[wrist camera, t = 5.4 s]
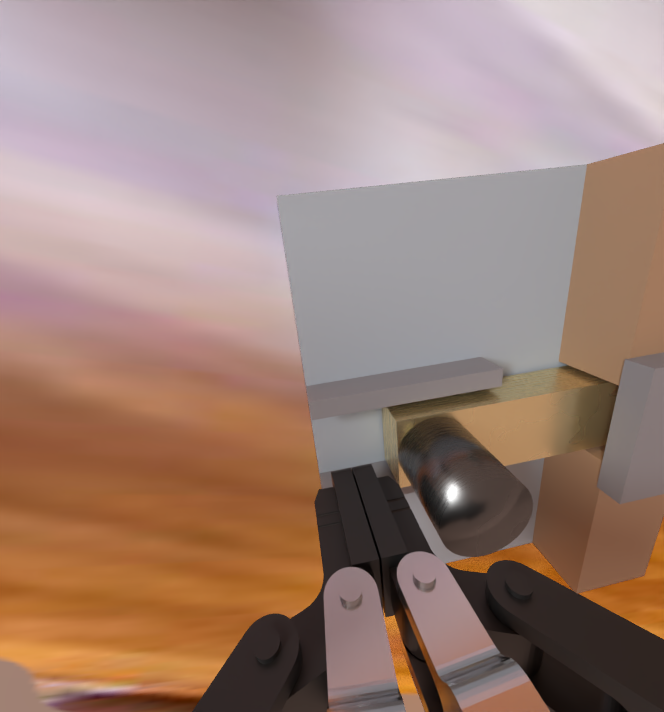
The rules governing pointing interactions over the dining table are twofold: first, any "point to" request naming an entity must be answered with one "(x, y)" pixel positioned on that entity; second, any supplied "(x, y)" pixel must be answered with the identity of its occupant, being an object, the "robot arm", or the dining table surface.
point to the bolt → (492, 449)
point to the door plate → (496, 331)
